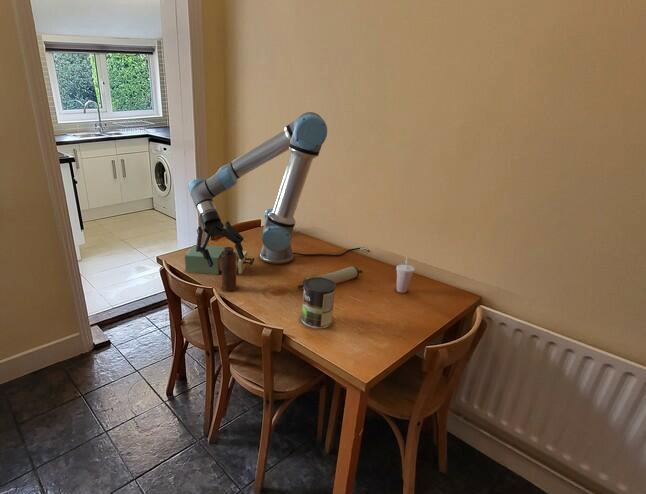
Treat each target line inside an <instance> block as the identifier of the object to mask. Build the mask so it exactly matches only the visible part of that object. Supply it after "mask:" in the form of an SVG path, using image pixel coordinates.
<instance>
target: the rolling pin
mask: <svg viewBox="0 0 646 494" xmlns="http://www.w3.org/2000/svg"><path fill="white" fill-rule="evenodd" d="M362 273H363V269H358V267H357V266H348V267H345V268H342V269H339V270H336V271H332V272H328V273H325V274H321V275H318V276H316V277H322V278H327V279H330V280H332V281H333V282H334V283H335V284H336V285H337V284H339V283H343V282H346V281H349V280H353V279H358V278H359V277H360V274H362ZM313 277H314V276H311V277H304V279H303V280H302V284H299V285H297V286H296V287H297V289H304V281H305V280H307V279H309V278H313Z"/></svg>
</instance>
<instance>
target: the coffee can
mask: <svg viewBox="0 0 646 494" xmlns="http://www.w3.org/2000/svg"><path fill="white" fill-rule="evenodd" d="M312 277H313V278H310V277H308V278H309V279H307V280H305V279H304V280H305V281H304V280H303V281H304V288H303V295H302V310H301V322H302V324H303V325H305V326H307V327H309V328H312V329H320V330H321V329H326V328H328V327H330V326H331V325H332V323H333V311H334V301H335V291H336V287H337V286H336V285H337V283H336V284H335V283H334V282H333V281H332V280H330V279H327V278H322V277H317V276H312Z"/></svg>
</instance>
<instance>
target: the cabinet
mask: <svg viewBox="0 0 646 494" xmlns="http://www.w3.org/2000/svg"><path fill="white" fill-rule="evenodd" d="M196 245H197V244H193V245H192V247H190V248H189V250H188V251H187V252H186V253H185V254H184V265H185V266H184V267H185V273H187V272H188V273H197V274H209V275H210V274H211V275H219V274H220V273H221V271H219V264H218V259H219V257H220V256H221V254H222V252H223V251H224V248H225V247H226V246H218V245H217V246H215V245H207V246H206V248H205V250H206V249H208V251H209V254H210V256H211V259H212V262H213V266H212V267H209V264H208V262H207V259H204V257H203V254H202V253H200V251H198V252H197V251H196ZM202 246H203V244H201V247H202Z"/></svg>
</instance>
